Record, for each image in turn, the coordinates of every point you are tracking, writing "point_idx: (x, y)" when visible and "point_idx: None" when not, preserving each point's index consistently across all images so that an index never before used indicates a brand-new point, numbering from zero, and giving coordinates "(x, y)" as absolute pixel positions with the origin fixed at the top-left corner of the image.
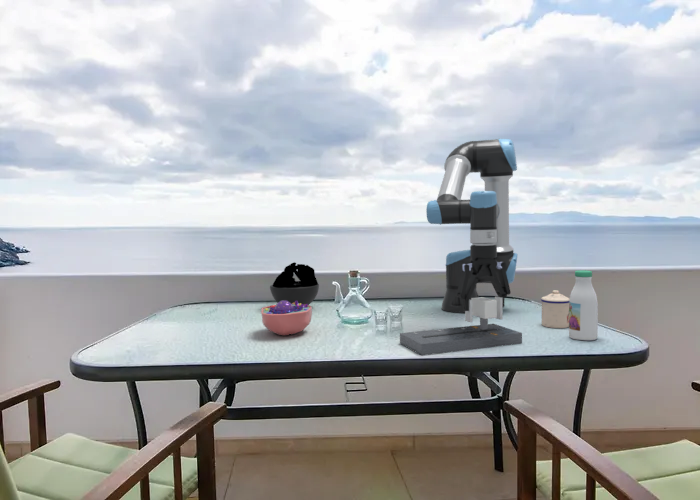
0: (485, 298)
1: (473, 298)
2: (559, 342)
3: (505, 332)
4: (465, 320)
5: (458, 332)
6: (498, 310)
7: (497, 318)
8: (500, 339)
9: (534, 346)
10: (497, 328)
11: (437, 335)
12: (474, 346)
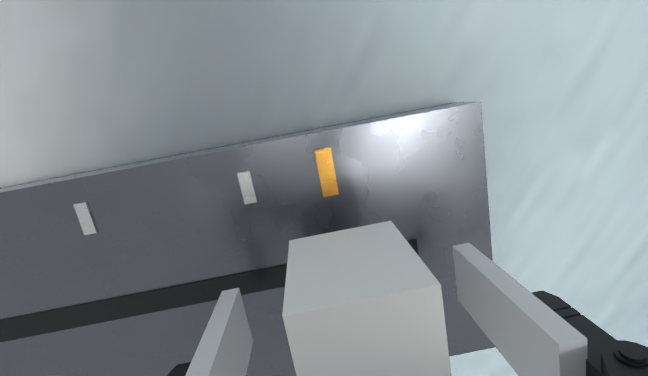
0: (423, 372)
1: (296, 345)
2: (621, 329)
3: None
4: (221, 296)
5: (185, 285)
6: (485, 314)
7: (455, 272)
8: None
9: (491, 365)
10: (436, 233)
11: (51, 327)
12: None
